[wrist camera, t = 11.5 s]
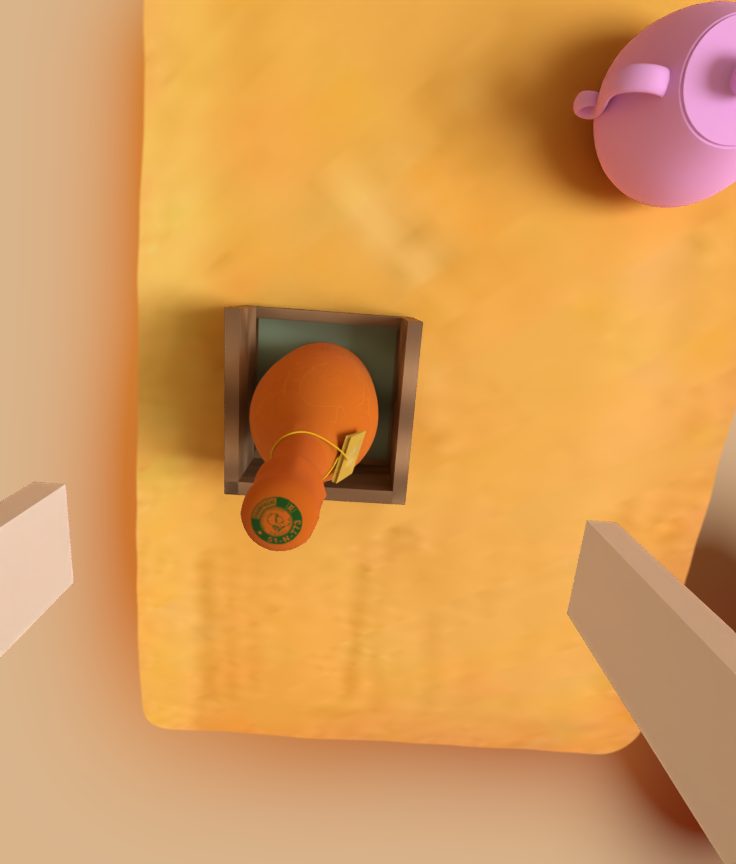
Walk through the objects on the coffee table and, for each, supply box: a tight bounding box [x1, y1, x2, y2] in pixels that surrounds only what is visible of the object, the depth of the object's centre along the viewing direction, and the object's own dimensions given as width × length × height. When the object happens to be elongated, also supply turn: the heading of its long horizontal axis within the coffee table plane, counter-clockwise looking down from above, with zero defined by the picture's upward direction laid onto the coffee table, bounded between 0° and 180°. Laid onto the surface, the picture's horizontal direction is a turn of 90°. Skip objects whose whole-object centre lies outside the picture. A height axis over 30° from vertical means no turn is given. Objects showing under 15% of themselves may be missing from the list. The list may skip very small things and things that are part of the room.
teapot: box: [573, 1, 736, 207], centre depth 40 cm, size 20×14×12 cm
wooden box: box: [224, 306, 423, 505], centre depth 48 cm, size 16×16×8 cm
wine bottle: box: [241, 342, 378, 551], centre depth 36 cm, size 10×10×30 cm
